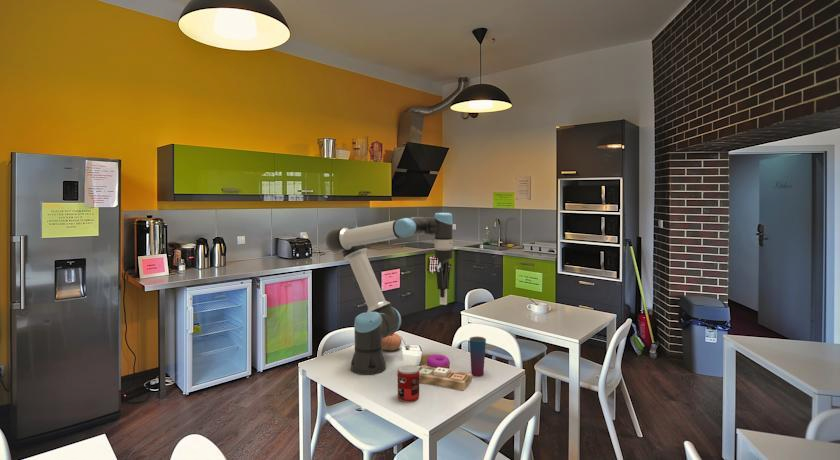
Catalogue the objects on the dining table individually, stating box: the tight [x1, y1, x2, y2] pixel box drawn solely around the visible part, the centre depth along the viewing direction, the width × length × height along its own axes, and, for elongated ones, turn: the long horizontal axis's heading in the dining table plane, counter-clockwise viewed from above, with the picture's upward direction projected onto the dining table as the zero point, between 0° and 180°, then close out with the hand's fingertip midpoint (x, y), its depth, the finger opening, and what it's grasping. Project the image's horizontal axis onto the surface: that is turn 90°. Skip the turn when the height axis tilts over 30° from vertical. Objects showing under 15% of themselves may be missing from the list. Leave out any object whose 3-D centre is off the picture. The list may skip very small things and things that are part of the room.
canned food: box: [397, 364, 420, 403], centre depth 165 cm, size 8×8×11 cm
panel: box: [418, 365, 473, 391], centre depth 180 cm, size 22×10×3 cm, turn 66°
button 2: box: [434, 367, 450, 378], centre depth 180 cm, size 5×5×2 cm
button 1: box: [419, 368, 434, 375], centre depth 183 cm, size 5×5×2 cm
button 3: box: [450, 373, 466, 381], centre depth 177 cm, size 5×5×2 cm
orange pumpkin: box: [382, 332, 402, 351], centre depth 218 cm, size 11×11×8 cm
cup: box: [469, 335, 487, 377], centre depth 187 cm, size 7×7×15 cm
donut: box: [426, 353, 451, 369], centre depth 196 cm, size 10×10×4 cm
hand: (443, 304), depth 191 cm, fingers closed
